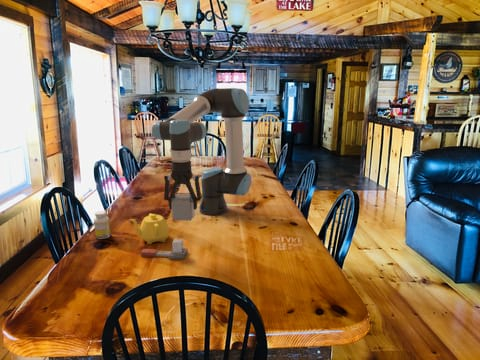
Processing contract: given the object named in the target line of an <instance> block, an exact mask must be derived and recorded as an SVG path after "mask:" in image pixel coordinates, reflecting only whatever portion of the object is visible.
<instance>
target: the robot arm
mask: <svg viewBox="0 0 480 360" xmlns="http://www.w3.org/2000/svg"><path fill="white" fill-rule="evenodd" d="M249 109H250V100H249V96H248V94H247V92H246V91H245V89H243V88H236V87H230V88H228V87H227V88H225V87H224V88H211V89H208V90H205V91H204V92H202V93H200V94H198V95H197V96H195V97H194V98H193V100H192V102H190V103H189V104H187V105H186V106H185V107H183V108H181V110H179V111H177V112H176V113H175V114H172V116H170V117H169V118H168V119H166V120H165V121H162V120H161V121H155V122H154V123H153V124H152V126H151V134H152V137H153V138H154V139H155V140H160V141H170V157H171V158H170V159H171V173H170V174H165V175H164V176H163V179H164V191H163V192H164V194H163V200H164V201H168V203H169V204H168V205H169V207H168V208H169V210H171V217H172V219H173V210H172V197H173V196H174V195H175V194H176V193H177V188H178V187H179V185H185V186H186V188H187V190H188V193H190V195H191V198H192V200H193V201H192V202H191V208H192V219H194V218H195V216H196V211H197V208H199V213H200V214H202V215H203V214H204V215H207V216H217V215H221V214H224V213H226V212H228V205H227V201H226V199H225V196H224V195H230V196H232V195H233V196H237V197H238V196H240V197H241V196H246V195H247V194H248V193H249V191H250V188H251V184H252V176H251V175H252V174H250V173H249V172H248V169H247V167H246V166H245V165H244V164H245V163H244V162H245V159H244V138H243V137H244V133H243V120H244V118H245V117H246V114H247V113H248V112H249ZM211 113H216V114H217V113H219V114H221V118H222V119H223V120H224V129H225V130H224V133H225V148H226V149H225V150H226V153H225V154H226V167H225V168H224V169H223V168H222V167H211V168H207V169H204V170H203V171H202V172H201V174H193V172H192V161H191V159H192V155H191V154H192V153H191V152H192V151H191V144H192V143H194V142H200V141H202V140H203V139H205V138H206V135H207V127H206V126H205V124H203V123H202V122H199V121H197V120H198V119H199V118H201V117H202V116H206V115H208V114H211ZM200 175H201V176H200ZM200 177H201V179H200ZM171 179H172V181H174V182H173V185H172V189H171V192H170V184H171V183H170V182H171ZM191 179H193V181H194V186H195V190H194V188H193V186H192V183H191ZM200 181H201V186H200ZM169 194H170V195H169ZM198 201H200V204H199V207H198ZM195 210H196V211H195Z"/></svg>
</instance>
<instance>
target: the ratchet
mask: <svg viewBox="0 0 480 360" xmlns="http://www.w3.org/2000/svg"><path fill="white" fill-rule="evenodd" d="M171 245H172V250H170V251H169V250H158V248H142V250H141V251H140V257H150V258H151V257H168V260H182V261H183V260H185V258H186V257H187V254H188V251H189V250H188V248H187V247H186V248H184V238H174V239H173V241H172V244H171Z"/></svg>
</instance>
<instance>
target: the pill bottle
mask: <svg viewBox="0 0 480 360" xmlns="http://www.w3.org/2000/svg"><path fill="white" fill-rule="evenodd" d="M94 215H95V218H94V219H93V224H94V231H95V237H96V238H97V239H98V240H103V239H107V238H110V237H111V235H112V232H111V224H110V223H111V222H110V218H109V217H108V216H107V211H105V210H100V211H96V212H95V213H94Z"/></svg>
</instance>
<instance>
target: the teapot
mask: <svg viewBox="0 0 480 360" xmlns="http://www.w3.org/2000/svg"><path fill="white" fill-rule="evenodd" d="M128 220H129V221H131V222H132V223H133V225H134V226H133V227H134V230H135V232H136V233H137V234H138V235H139V236H140V238H141V239H142V240H143V241H145V242H147V243H146V244H147V245H152V244H153V243H155V242H160V243H165V242H166V239H167V238H168V237H169V234H170V228H169V225H168V223H167V222H166V219H165V217H163V216H162V215H160V214H156V213H148V215H147V216H146V215H145V217H143V219H142V222H141V224H140V226H139V224H138V221H137V220H136V219H134V218H128Z"/></svg>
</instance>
